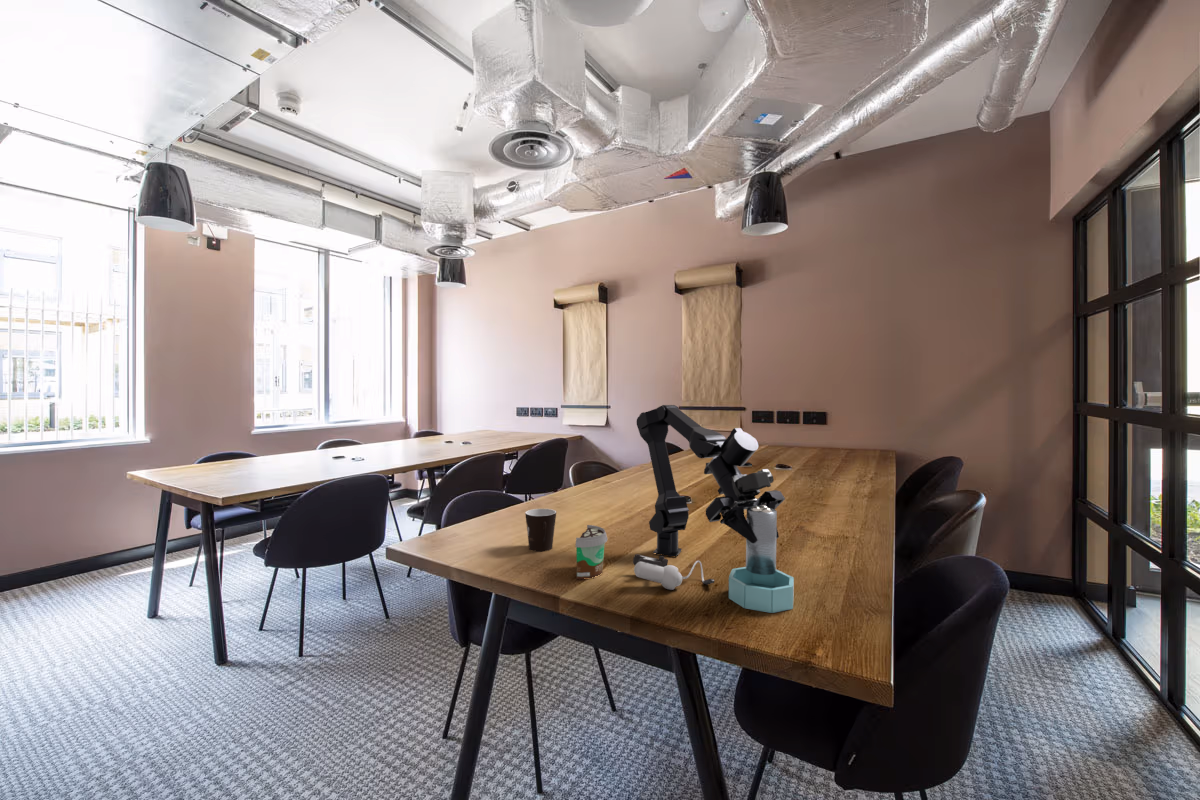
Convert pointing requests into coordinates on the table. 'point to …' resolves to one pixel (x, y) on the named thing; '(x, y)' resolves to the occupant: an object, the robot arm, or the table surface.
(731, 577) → the bowl
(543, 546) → the coffee mug
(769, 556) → the steel cylinder with balls
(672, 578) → the clip-on lamp
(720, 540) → the table surface
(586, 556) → the food container
